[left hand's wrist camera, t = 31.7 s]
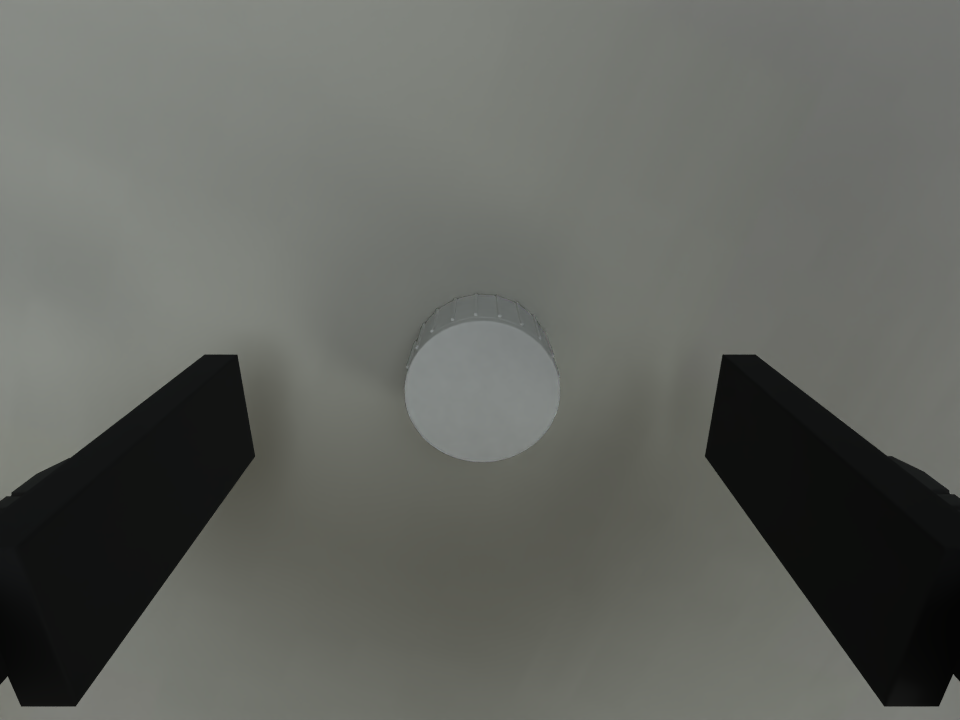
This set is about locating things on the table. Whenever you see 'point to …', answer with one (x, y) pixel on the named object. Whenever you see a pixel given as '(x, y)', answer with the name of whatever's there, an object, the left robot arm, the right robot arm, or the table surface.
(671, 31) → the table surface
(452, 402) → the cap
